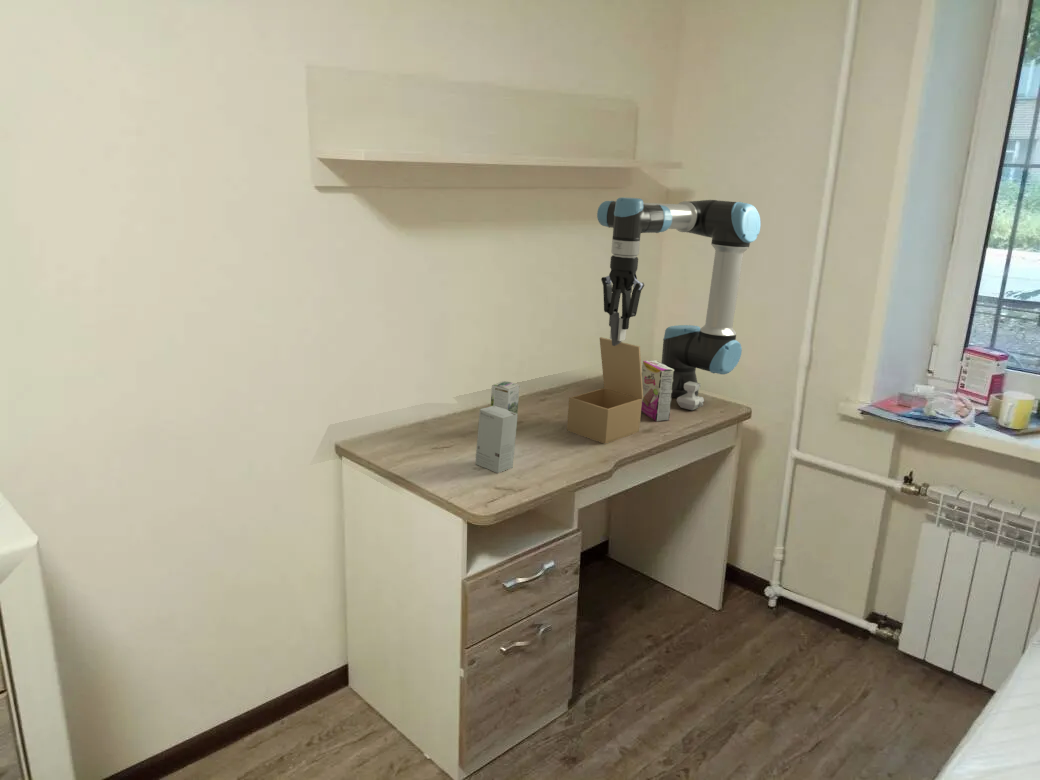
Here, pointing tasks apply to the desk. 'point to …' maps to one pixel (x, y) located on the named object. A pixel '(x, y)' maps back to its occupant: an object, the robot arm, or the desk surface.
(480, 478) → the desk surface
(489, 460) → the skincare box
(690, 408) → the stamp
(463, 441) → the desk surface
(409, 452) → the desk surface
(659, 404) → the candy bar box
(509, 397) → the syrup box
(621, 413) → the carton
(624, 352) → the flap
